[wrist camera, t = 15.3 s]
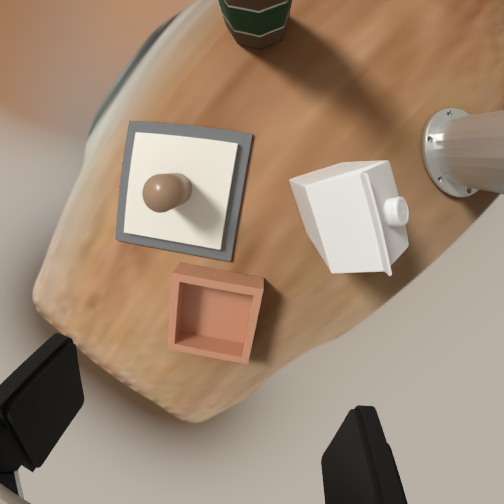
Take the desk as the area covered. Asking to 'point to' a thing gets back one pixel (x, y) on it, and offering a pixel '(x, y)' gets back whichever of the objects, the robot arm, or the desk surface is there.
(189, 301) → the terracotta square tray
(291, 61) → the desk surface
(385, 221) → the milk carton
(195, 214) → the cover
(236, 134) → the mat
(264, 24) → the beer bottle
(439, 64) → the desk surface
